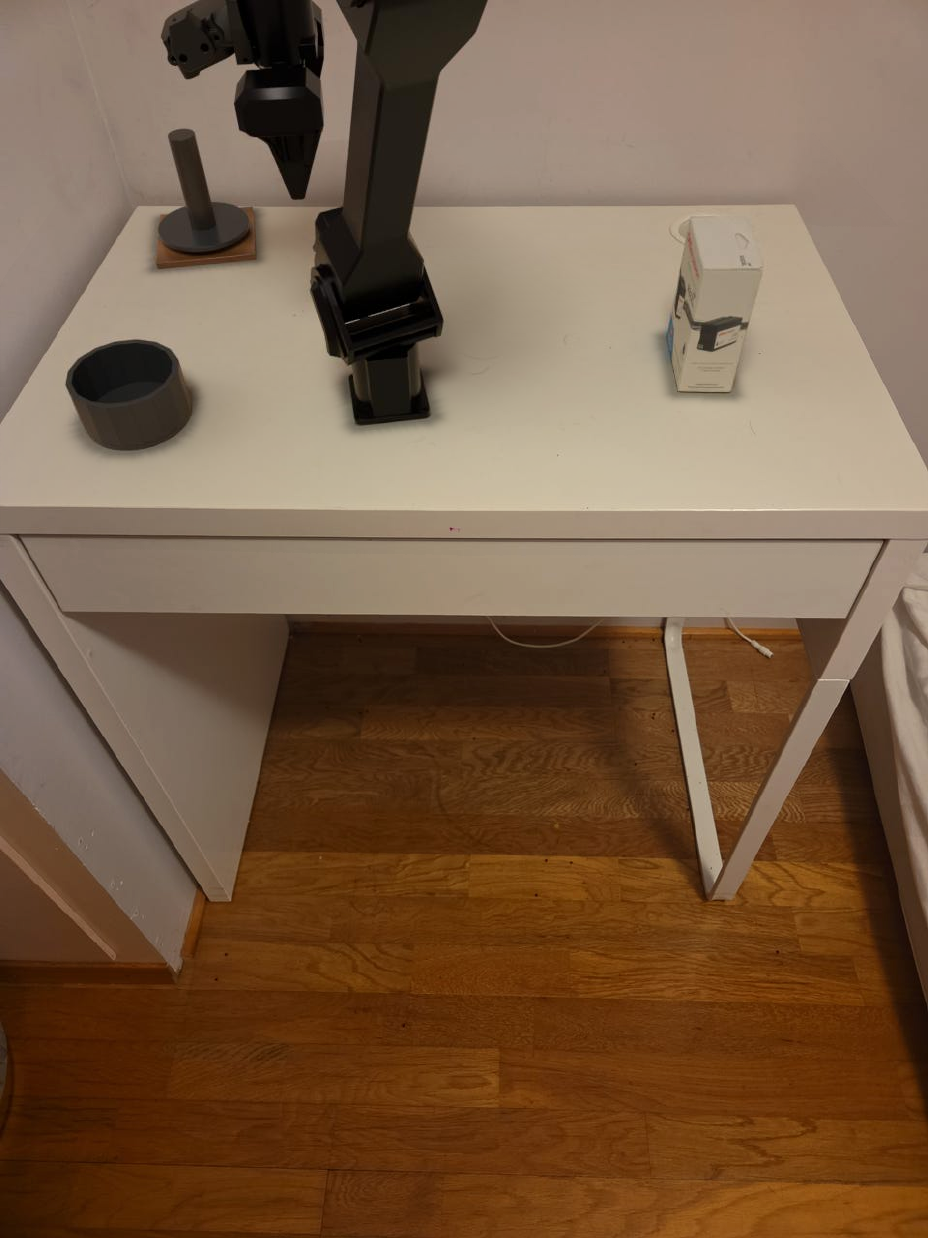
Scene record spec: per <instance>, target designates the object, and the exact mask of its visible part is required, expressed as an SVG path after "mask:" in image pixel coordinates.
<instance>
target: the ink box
mask: <svg viewBox="0 0 928 1238" xmlns="http://www.w3.org/2000/svg"><path fill="white" fill-rule="evenodd" d="M763 267H764V261H763V257H762V255H761V252H760V249H759V247H758V242H757V239H756V236H755V233H754V229H753V225H752V222H751V219H750V218H749V217H747V216H745V215H731V216H729V215H726V216H725V215H716V216H712V215H711V216H709V215H707V216H706V215H705V216H701V215H700V216H697V215H695V216H690V217H689V221H688V226H687V231H686V235H685V240H684V247H683V251H682V256H681V262H680V267H679V271H678V276H677V282H676V287H675V291H674V296H673V302H672V306H671V312H670V317H669V322H668V327H667V332H666V341H667V345H668V350H669V355H670V359H671V364H672V369H673V373H674V378H675V383H676V388H677V391H678V392H691V393H692V392H700V393H701V392H703V393H730V392H732V389H733V385H734V381H735V377H736V373H737V370H738V366H739V361H740V358H741V355H742V352H743V351H742V350H743V346H744V343H745V339H746V336H747V332H748V328H749V324H750V321H751V317H752V314H753V310H754V306H755V303H756V298H757V295H758V292H759V287H760V285H761V280H762V275H763V273H764V268H763Z"/></svg>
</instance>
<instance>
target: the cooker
mask: <svg viewBox="0 0 928 1238" xmlns="http://www.w3.org/2000/svg"><path fill="white" fill-rule="evenodd" d="M64 385H65V386H64V387H66V390H67V393H68V395H69V397H70V399H71V402H72V404H73V407H74V409H75V411H76V414H77V415H78V418H79V420H80V422H81V424H82V426H83V428H84V430H85V432H86V434H87V436H88V437H89V438H90V440H92V441H93V442H94V443H96V444H97V445H99V446H101V447H104V448H107V449H111V450H115V451H116V450H117V451H118V450H119V451H136V450H142V449H143V450H144V449H147V448H150V447H154V446H157V445H159V444H161V443H164V442H166V441H168V440H169V439H172V438H173V437H175V436H176V435H177V434H178V433H179V432H181V431H182V429H183V428H184V427H186V425H187V424H188V422H189V420H190V417H191V415H192V409H193V408H192V402H191V396H190V392H189V390H188V386H187V383H186V380H185V376H184V373H183V370H182V367H181V363H180V360H179V358H178V357H177V355H176V353H174V351H173V350H172V349H171V348H169V347H168V346H166V345H164V344H161V343H160V342H158V341H155V340H154V341H153V340H147V339H140V338H139V339H137V338H134V339H124V340H116V341H111V342H109V343H107V344H103V345H100V346H97V347H95V348H92V349H91V350H90V351H88V352H86V353H84V354H83V355H82V356H80V357H78V358H77V359H76V360H75V362H74V363H73V364H72V365H71V367H69V369H68V370H67V374H66V379H65V384H64Z"/></svg>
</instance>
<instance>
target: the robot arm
mask: <svg viewBox="0 0 928 1238" xmlns="http://www.w3.org/2000/svg"><path fill="white" fill-rule="evenodd" d="M488 1H489V0H335V2H336V3H337V6H338V7H339V9H340V11H341V13H342V15H343V16H344V19H345V20H346V22H347V24H348V26H349V28H350V31H351V32H352V34H353V36H354V38H355V40H356V55H355V65H354V76H353V77H354V79H353V89H352V100H351V101H352V102H351V110H350V111H351V112H350V122H349V123H350V124H349V134H348V143H347V144H348V145H347V146H348V147H347V156H346V157H347V158H346V169H345V180H344V190H343V191H344V192H343V203H342V205H341V206H339V207H335V208H334V207H333V208H331V209H327V210H323V211H320V212H318V215H317V217H316V219H315V220H314V231H315V232H314V233H315V234H314V235H315V238H314V244H313V245H312V249H313V251H314V253H315V254H314V261H313V262H314V266H312V267H311V269H310V280H309V284H310V288H309V293H310V296H311V299H312V302H313V305H314V308H315V311H316V314H317V317H318V321H319V323H320V326H321V329H322V333H323V337H324V342H325V348H326V353H327V354H328V356H329V357H333V358H337V359H341V360H342V361H343V362H344V364H345V366H348V367H349V366H351V372H352V373H351V374H349V375H348V386H349V393H350V401H351V406H352V407H351V408H352V414H353V415H352V416H353V421H354V424H357V425H366V424H375V423H384V422H385V423H386V422H391V421H392V422H393V421H400V420H401V421H402V420H411V419H418V418H427V417H429V416H430V415H431V408H430V403H429V398H428V393H427V389H426V385H425V381H424V380H425V379H424V376H423V371H422V369H421V366H420V349H419V348H420V347H419V342H423V341H425V340H429V339H432V338H434V339H436V338H439V337H441V336H442V332H443V327H444V323H445V321H444V317H443V313H442V310H441V308H440V305H439V303H438V299H437V296H436V294H435V291H434V288H433V285H432V282H431V280H430V277H429V275H428V272H427V269H426V266H425V265H426V264H425V259H424V257H423V255H422V254H421V252H420V249H419V247H418V245H417V244H416V242H415V240H414V238H413V236H412V233H411V232H410V228H411V223H412V218H413V214H414V213H413V212H414V207H415V202H416V197H417V192H418V188H419V187H418V186H419V182H420V177H421V172H422V167H423V161H424V157H425V152H426V146H427V141H428V137H429V130H430V125H431V122H432V121H431V120H432V117H433V116H432V115H433V110H434V104H435V101H436V100H435V99H436V95H437V90H438V84H439V79H440V75H441V72H442V70H443V69H444V68H445V67H446V66H447V65H448V64H449V63H450V62H451V61H452V60H453V59H454V57H455V56H456V55H457V54H458V53H459V52H460V51H461V50H462V49H463V47H464V46H465V45H466V44H467V43H468V42H469V41H470V40H471V39H472V38H473V37H474V36H475V34H476V33H477V30H478V29H479V26H480V23H481V20H482V18H483V15H484V13H485V9H486V7H487V4H488ZM322 11H323V10H322V8H321V7H319V5H317V3H315V1H313V0H197V1H194V2H192V3H191V4H188V5H186V6H184V7H183V8H180V9H178V10H177V11H174V12H173V13H171V14H170V15H169V16H168V17H167V18H166V19H165V20H164V22H163V27H162V29H161V33H160V39H161V41H162V43H163V45H164V47H165V49H166V52H167V56H166V57H167V58H166V59H167V61H168V63H169V65H171V66H173V67H177V68H178V70H179V71H180V73H181V75H182V76H183V78H184V79H185V80H187V81H188V80H192V79H194V78H196V77H198V76H200V74H201V72H202V71H204V70H206V69H209V68H210V67H212V66H214V65H218V63H220V62H223V61H225V60H227V59H229V58H230V57H232V56H233V55H234V57H235V62H236V66H244V65H246V66H247V65H255V66H256V67H257V68H258V69H257V68H256V69H246V70H245V72H244V73H243V74H242V76H241V77H240V79H239V80H238V82H237V83H236V87H235V92H234V101H233V106H234V111H235V116H236V121H237V127H238V131H240V132H242V133H245V134H246V135H247V136H248V137H251V138H257V139H258V140H260V141H262V142H264V143H265V144H266V145H267V147H268V148H269V151H270V153H271V155H272V157H273V160H274V162H275V164H276V166H277V169H278V171H279V173H280V176H281V178H282V181H283V183H284V185H285V187H286V189H287V192H288V194H289V196H290V199H291V200H293V201H301V200H305V199H306V197H307V196H306V195H307V191H308V187H309V184H310V179H311V175H312V171H313V167H314V164H315V160H316V155H317V151H318V147H319V144H320V140H321V136H322V133H323V132H324V126H325V107H324V95H323V87H322V79H321V75H322V70H323V65H324V62H325V61H324V60H325V29H324V19H323V12H322Z"/></svg>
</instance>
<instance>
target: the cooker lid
mask: <svg viewBox="0 0 928 1238" xmlns="http://www.w3.org/2000/svg"><path fill="white" fill-rule="evenodd" d="M196 135H197V134H196V131H194V130H193V129H190V128H178V129H177V128H176V129H174V130H171V131H170V132H169V133H168V134H167V140H168V143H169V146H170V150H171V154H172V159H173V162H174V166H175V170H176V174H177V177H178V181H179V185H180V190H181V193H182V198H183V200H184V204H185V205H184V206H181V207H179V208H177V209H175V210H173V211H171V212H169V213H167V214H168V215H167V216H165V217H164V218H163V219H162V220H161V222H160V221H159V224H158V226H157V234H158V235H159V237H160V239H161V240H162V242H163V243H164V244H165V245H167V246H169V247H171V248H173V249H176V250H180V251H185V252H207V251H213V250H218V249H221V248H224V247H227V246H229V245H232V244H234V243H235V242H237V241H239V240H240V239H241V238H243V237H244V236H245V234H246V233H247V232H248V230H249V226H250V222H249V218H248V215H247V214H246V213H245V211H243V210H242V209H241V207H240V206H237V205H234V204H231V203H227V202H220V201H212V199H211V195H210V191H209V186H208V182H207V178H206V173H205V168H204V165H203V161H202V157H201V153H200V149H199V145H198V139H197V136H196Z"/></svg>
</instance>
